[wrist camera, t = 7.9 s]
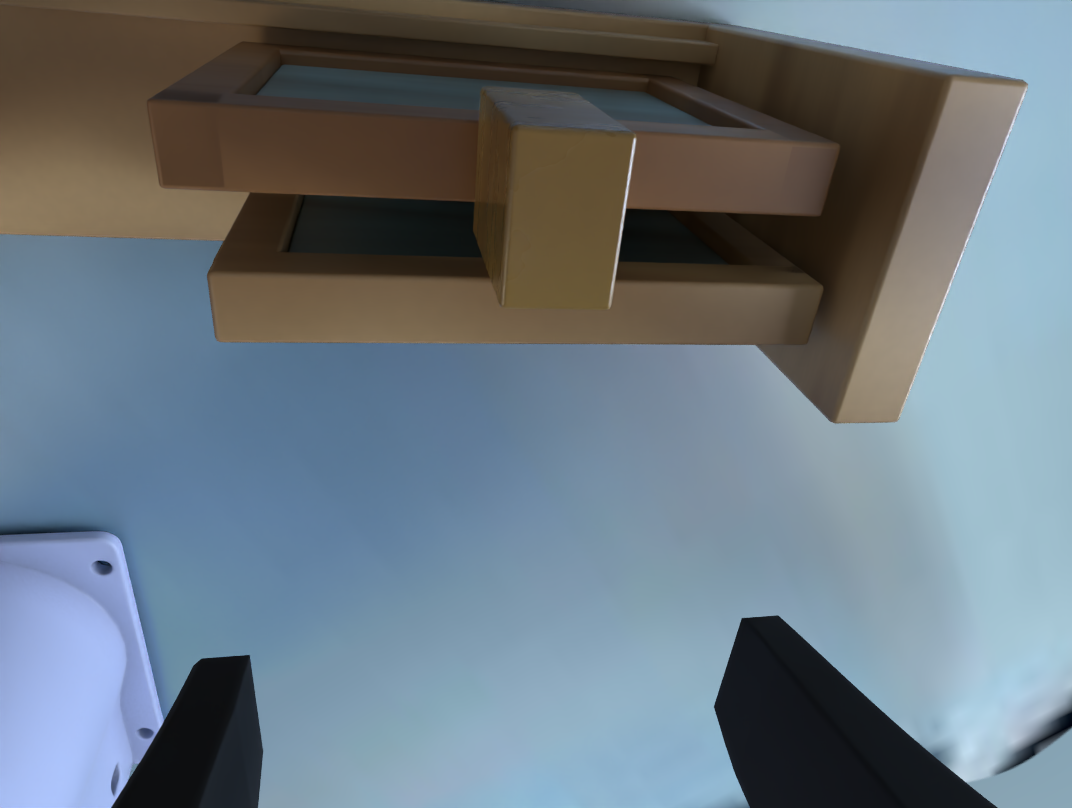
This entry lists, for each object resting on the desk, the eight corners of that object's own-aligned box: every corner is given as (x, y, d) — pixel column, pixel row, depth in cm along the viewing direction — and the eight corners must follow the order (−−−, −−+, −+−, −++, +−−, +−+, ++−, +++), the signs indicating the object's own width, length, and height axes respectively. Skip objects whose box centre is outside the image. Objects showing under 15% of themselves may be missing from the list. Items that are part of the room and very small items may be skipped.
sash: (661, 144, 16) (923, 316, 9) (247, 119, 15) (97, 305, 7) (676, 55, 16) (983, 155, 8) (236, 16, 14) (52, 95, 6)
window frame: (694, 241, 19) (899, 424, 12) (-222, 209, 15) (-808, 458, 8) (738, 25, 17) (1034, 81, 9) (-340, -81, 13) (-1379, -134, 5)
